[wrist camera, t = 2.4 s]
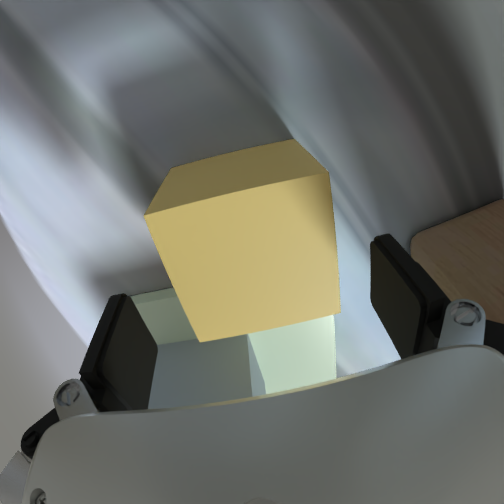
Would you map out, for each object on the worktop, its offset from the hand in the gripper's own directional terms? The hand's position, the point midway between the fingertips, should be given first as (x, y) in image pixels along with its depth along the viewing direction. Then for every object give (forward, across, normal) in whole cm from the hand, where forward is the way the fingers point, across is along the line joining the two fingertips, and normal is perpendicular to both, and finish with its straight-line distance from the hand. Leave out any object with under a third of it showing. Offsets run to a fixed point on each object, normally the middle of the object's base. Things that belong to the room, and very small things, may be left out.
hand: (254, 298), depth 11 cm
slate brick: (+6, +5, +10) cm, 13 cm away
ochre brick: (+7, 0, -1) cm, 7 cm away
